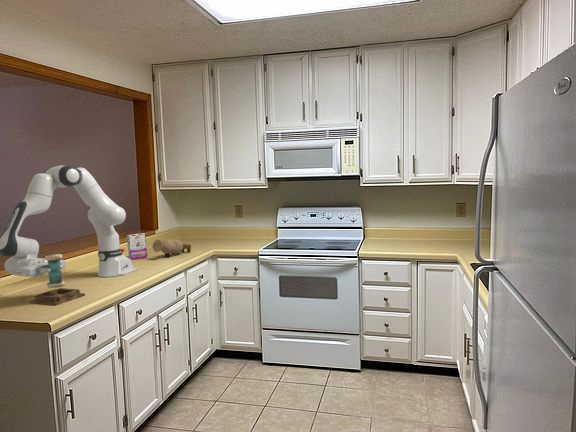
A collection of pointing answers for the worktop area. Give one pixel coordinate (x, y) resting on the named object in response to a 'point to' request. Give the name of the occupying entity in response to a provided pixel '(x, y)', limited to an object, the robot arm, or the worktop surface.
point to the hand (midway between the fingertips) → (56, 268)
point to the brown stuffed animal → (170, 246)
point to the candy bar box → (137, 246)
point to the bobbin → (55, 271)
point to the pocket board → (57, 296)
